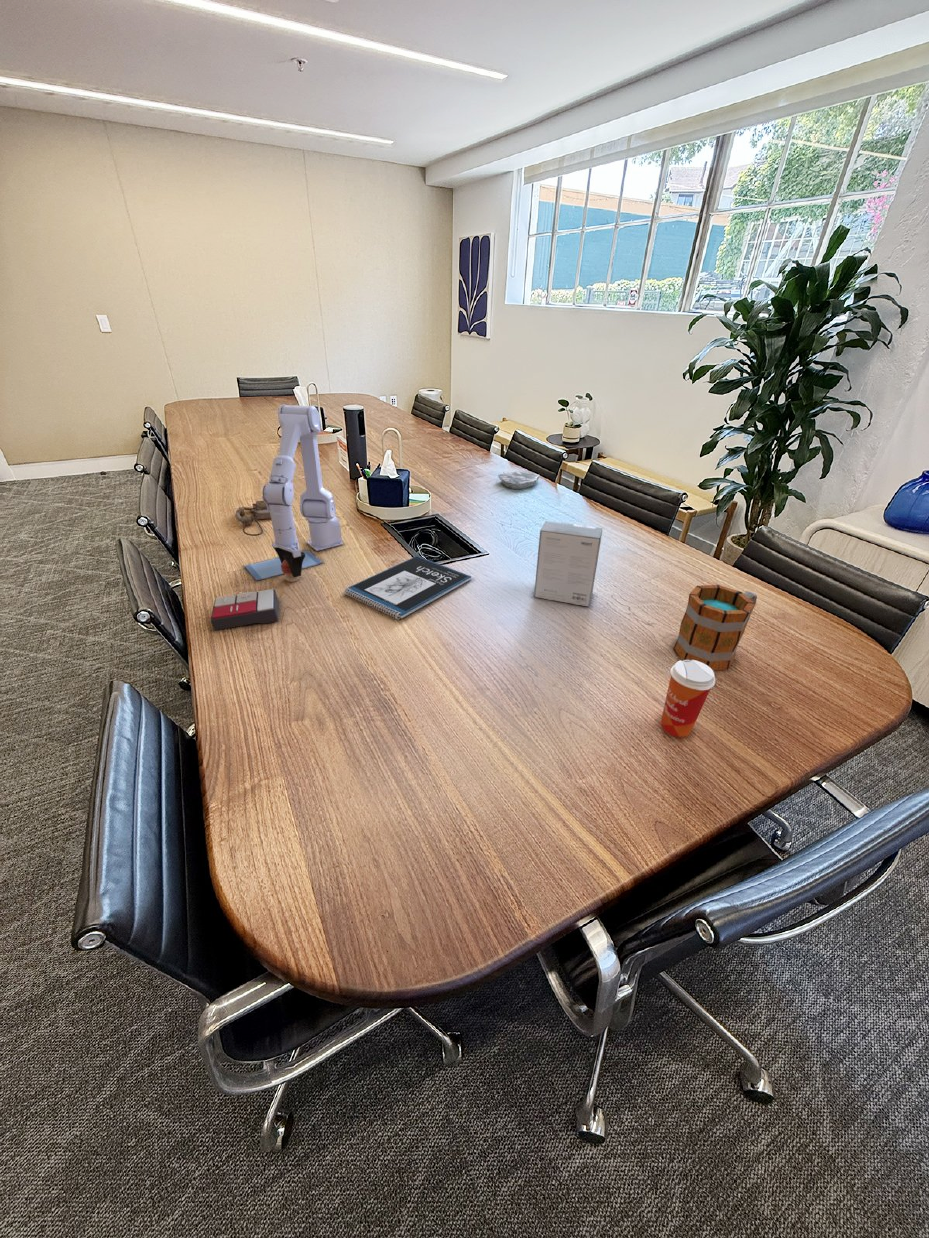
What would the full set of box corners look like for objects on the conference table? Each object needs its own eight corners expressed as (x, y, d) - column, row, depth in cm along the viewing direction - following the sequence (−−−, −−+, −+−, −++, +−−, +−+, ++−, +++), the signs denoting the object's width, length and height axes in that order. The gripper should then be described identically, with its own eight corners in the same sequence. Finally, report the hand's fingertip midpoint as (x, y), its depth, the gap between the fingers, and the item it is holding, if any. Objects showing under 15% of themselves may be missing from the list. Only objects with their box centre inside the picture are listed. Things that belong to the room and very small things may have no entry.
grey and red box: (213, 596, 131) (274, 586, 135) (218, 610, 133) (278, 600, 137) (209, 618, 122) (274, 606, 126) (214, 632, 125) (278, 621, 128)
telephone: (239, 540, 169) (236, 528, 167) (235, 508, 195) (233, 497, 192) (286, 536, 174) (285, 524, 172) (276, 505, 200) (275, 494, 198)
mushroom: (298, 573, 151) (294, 552, 147) (305, 579, 147) (301, 559, 144) (280, 577, 148) (276, 557, 145) (287, 584, 145) (283, 563, 141)
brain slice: (512, 475, 239) (512, 468, 237) (544, 482, 231) (545, 475, 229) (489, 485, 225) (489, 478, 224) (522, 493, 217) (523, 486, 215)
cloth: (308, 551, 164) (308, 550, 164) (322, 563, 157) (322, 562, 156) (244, 567, 154) (244, 566, 153) (256, 581, 146) (256, 580, 146)
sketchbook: (471, 580, 150) (471, 574, 148) (398, 622, 129) (398, 615, 128) (417, 559, 161) (417, 553, 160) (342, 594, 140) (341, 588, 139)
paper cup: (648, 714, 102) (665, 658, 95) (685, 712, 103) (704, 656, 96) (665, 743, 96) (683, 685, 88) (704, 741, 96) (726, 683, 89)
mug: (707, 678, 113) (728, 620, 105) (660, 646, 122) (676, 592, 114) (763, 654, 121) (786, 599, 113) (715, 626, 131) (733, 574, 123)
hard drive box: (592, 594, 143) (604, 528, 133) (589, 607, 137) (601, 538, 127) (538, 585, 148) (545, 519, 137) (532, 597, 141) (539, 529, 131)
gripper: (260, 521, 142) (269, 565, 149) (279, 538, 132) (287, 584, 140) (285, 516, 146) (292, 559, 153) (305, 532, 136) (312, 577, 143)
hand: (291, 571), depth 147 cm, fingers open, 7 cm apart
